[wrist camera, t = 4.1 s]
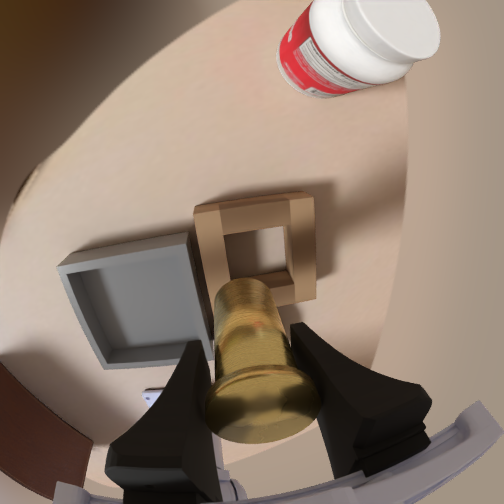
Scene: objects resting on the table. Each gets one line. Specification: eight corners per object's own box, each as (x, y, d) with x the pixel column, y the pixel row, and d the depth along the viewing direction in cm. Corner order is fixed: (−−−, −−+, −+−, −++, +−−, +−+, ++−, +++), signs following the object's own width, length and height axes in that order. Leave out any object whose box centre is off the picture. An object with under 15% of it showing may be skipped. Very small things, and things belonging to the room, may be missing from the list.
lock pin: (281, 327, 17) (316, 432, 10) (213, 336, 17) (217, 448, 9) (278, 266, 15) (326, 370, 8) (201, 276, 15) (192, 390, 8)
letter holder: (-6, 353, 22) (-49, 428, 9) (94, 440, 30) (82, 515, 17) (-23, 370, 22) (-56, 432, 10) (64, 446, 30) (50, 509, 17)
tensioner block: (306, 284, 24) (316, 298, 21) (212, 301, 23) (213, 317, 21) (302, 191, 20) (313, 197, 18) (194, 206, 20) (193, 214, 18)
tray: (212, 340, 24) (214, 360, 22) (110, 351, 23) (103, 369, 21) (188, 231, 20) (185, 243, 18) (69, 253, 19) (56, 266, 17)
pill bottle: (317, 18, 15) (394, -47, 5) (364, 76, 18) (467, 51, 7) (256, 52, 16) (306, -25, 6) (309, 114, 18) (404, 98, 8)
